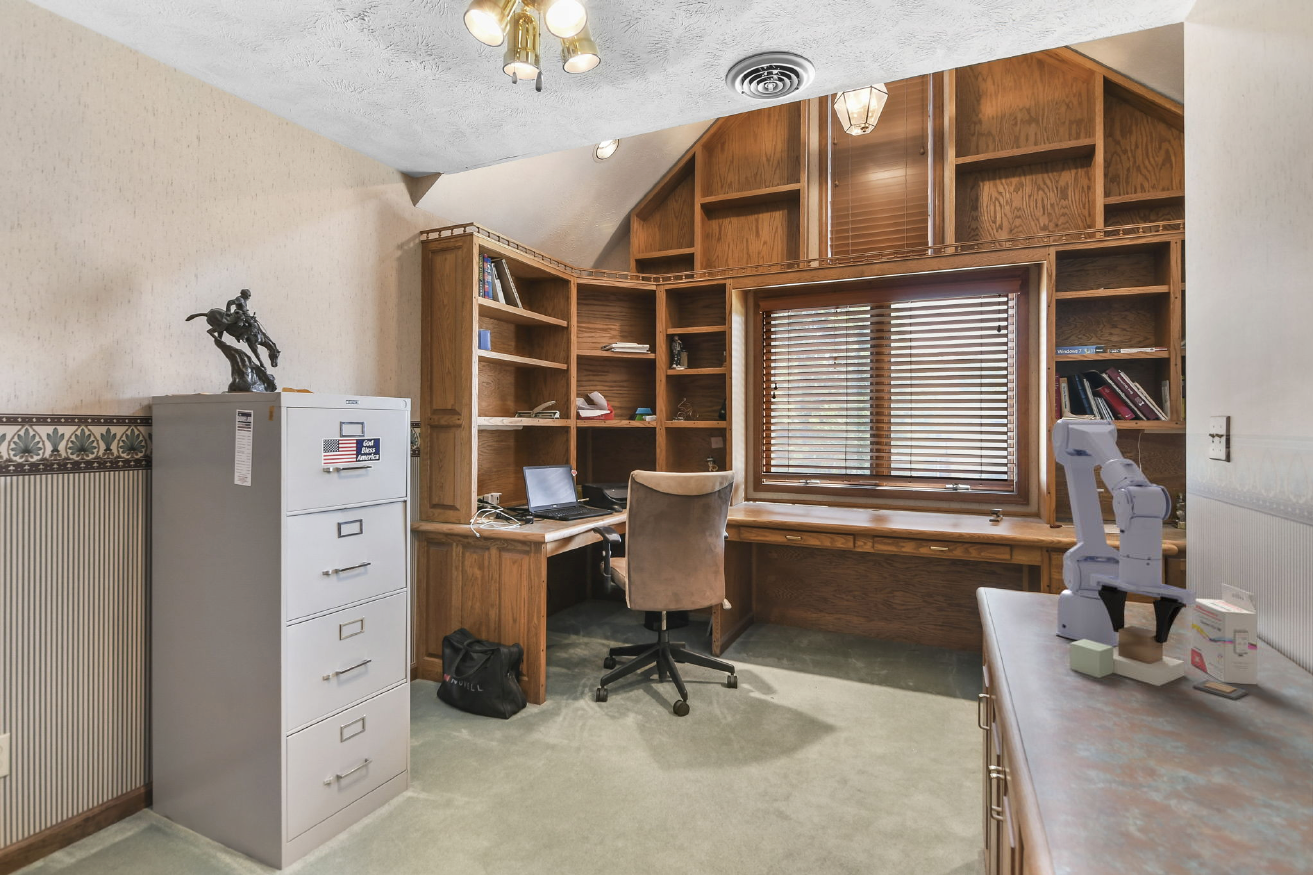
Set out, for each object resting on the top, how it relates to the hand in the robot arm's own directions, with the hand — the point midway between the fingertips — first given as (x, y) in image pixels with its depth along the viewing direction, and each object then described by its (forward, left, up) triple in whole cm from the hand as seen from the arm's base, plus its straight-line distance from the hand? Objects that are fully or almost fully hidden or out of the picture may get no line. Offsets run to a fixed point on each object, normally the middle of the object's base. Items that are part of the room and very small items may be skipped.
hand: (1139, 636), depth 104 cm
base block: (0, 0, -6) cm, 6 cm away
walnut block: (0, 0, -3) cm, 4 cm away
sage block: (-4, -7, -6) cm, 10 cm away
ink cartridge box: (+7, +11, -6) cm, 15 cm away
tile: (+10, +2, -6) cm, 12 cm away
